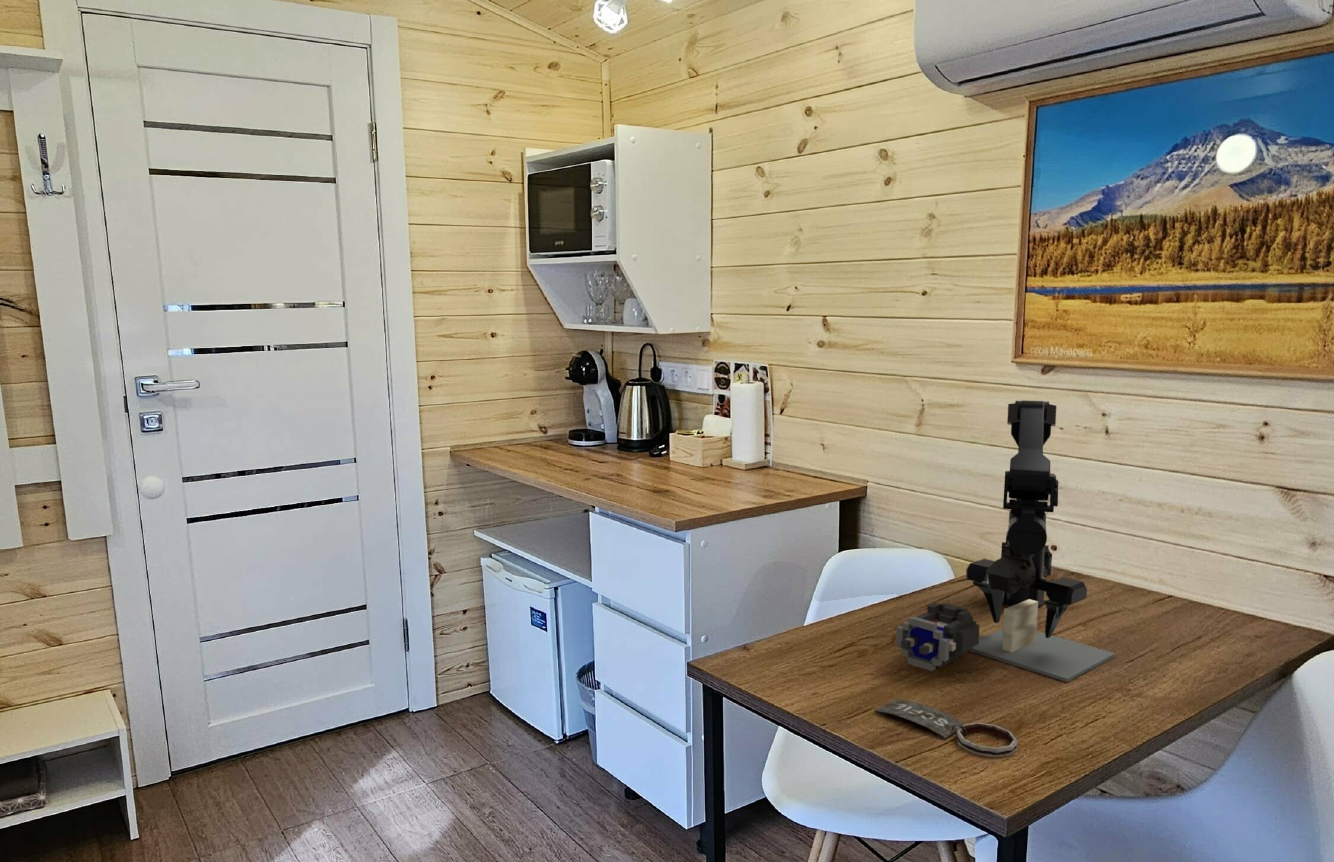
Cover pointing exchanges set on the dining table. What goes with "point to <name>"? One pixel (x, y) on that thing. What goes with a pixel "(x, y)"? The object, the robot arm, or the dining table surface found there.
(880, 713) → the keychain
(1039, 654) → the mat
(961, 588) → the dining table surface
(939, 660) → the toy
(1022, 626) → the tile
